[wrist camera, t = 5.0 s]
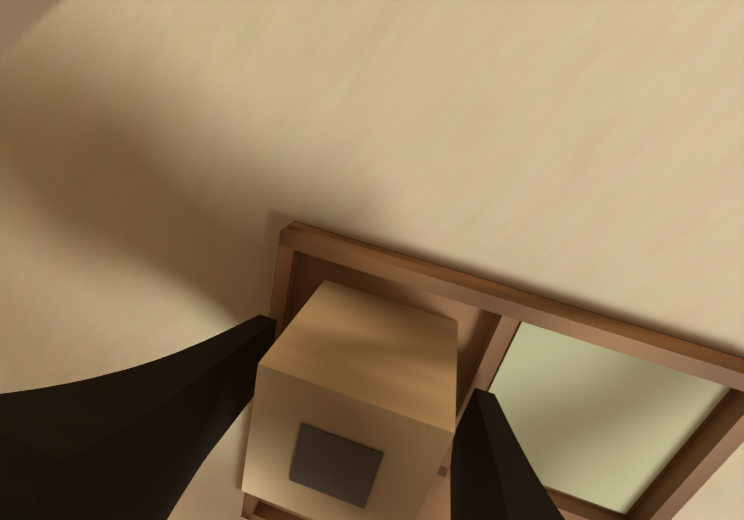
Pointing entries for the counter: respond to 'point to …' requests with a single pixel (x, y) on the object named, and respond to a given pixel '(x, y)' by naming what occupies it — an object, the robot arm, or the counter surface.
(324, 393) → the light wooden block
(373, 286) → the tray
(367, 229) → the counter surface
